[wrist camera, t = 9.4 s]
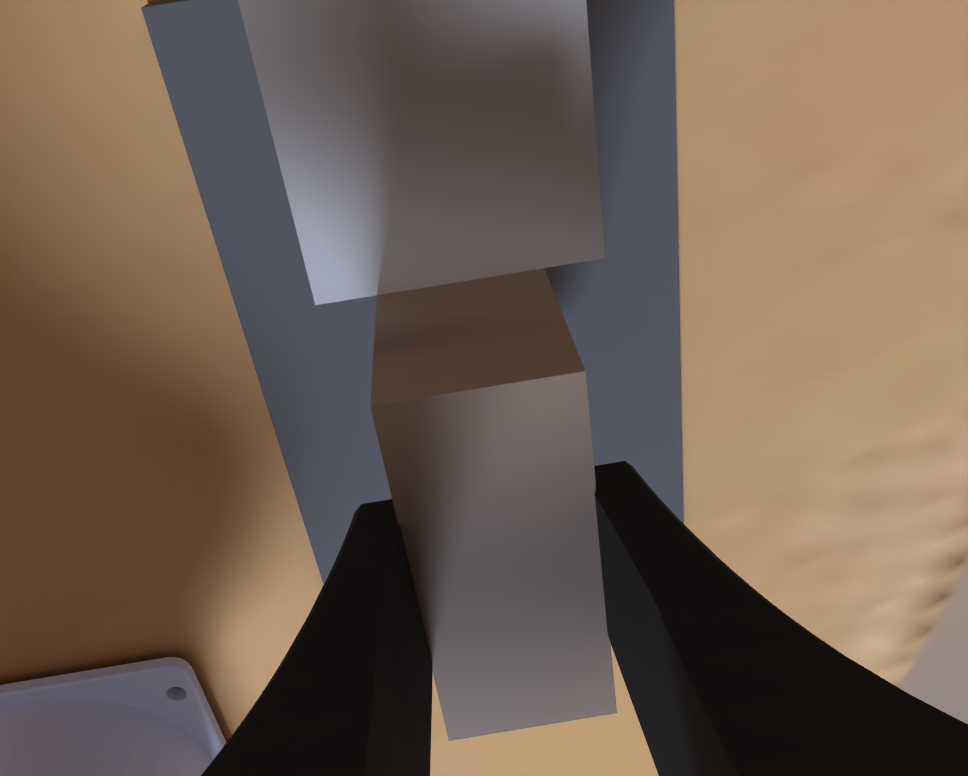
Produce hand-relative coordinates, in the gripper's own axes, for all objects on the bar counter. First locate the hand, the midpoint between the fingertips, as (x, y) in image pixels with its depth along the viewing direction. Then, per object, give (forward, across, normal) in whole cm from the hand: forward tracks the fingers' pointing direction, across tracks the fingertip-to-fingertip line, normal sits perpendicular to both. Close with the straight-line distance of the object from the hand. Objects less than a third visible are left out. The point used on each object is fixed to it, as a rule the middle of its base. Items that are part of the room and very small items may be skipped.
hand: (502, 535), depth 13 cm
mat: (+7, 0, 0) cm, 7 cm away
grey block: (+3, 0, -2) cm, 4 cm away
